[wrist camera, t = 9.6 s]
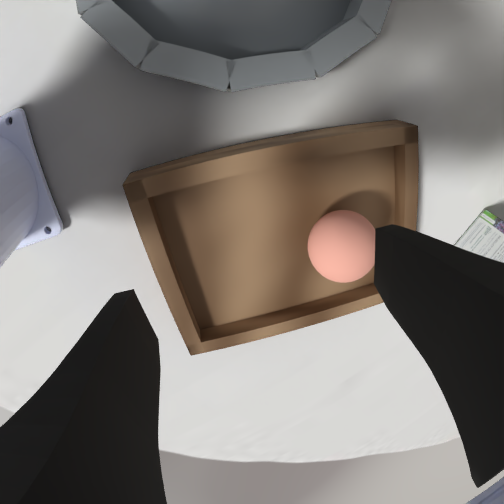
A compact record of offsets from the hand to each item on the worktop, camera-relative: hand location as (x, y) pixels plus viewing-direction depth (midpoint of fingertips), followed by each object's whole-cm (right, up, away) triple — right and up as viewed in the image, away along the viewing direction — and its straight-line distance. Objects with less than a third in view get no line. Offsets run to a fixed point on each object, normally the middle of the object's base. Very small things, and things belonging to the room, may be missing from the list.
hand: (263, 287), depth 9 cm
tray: (+2, +2, +11) cm, 11 cm away
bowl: (-1, +16, +2) cm, 17 cm away
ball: (+3, +1, +9) cm, 9 cm away
